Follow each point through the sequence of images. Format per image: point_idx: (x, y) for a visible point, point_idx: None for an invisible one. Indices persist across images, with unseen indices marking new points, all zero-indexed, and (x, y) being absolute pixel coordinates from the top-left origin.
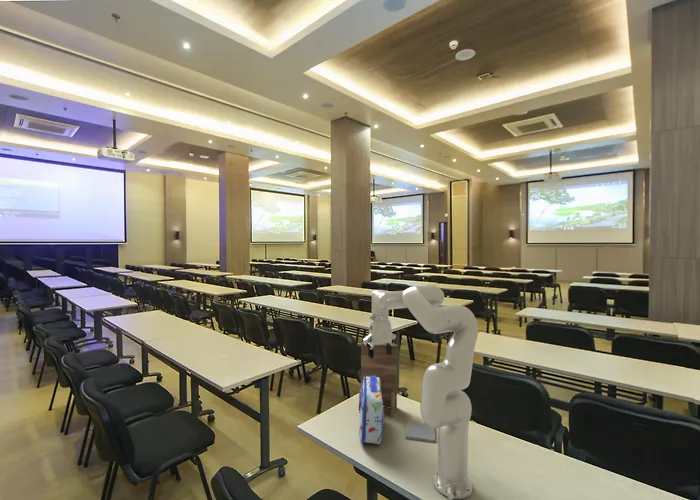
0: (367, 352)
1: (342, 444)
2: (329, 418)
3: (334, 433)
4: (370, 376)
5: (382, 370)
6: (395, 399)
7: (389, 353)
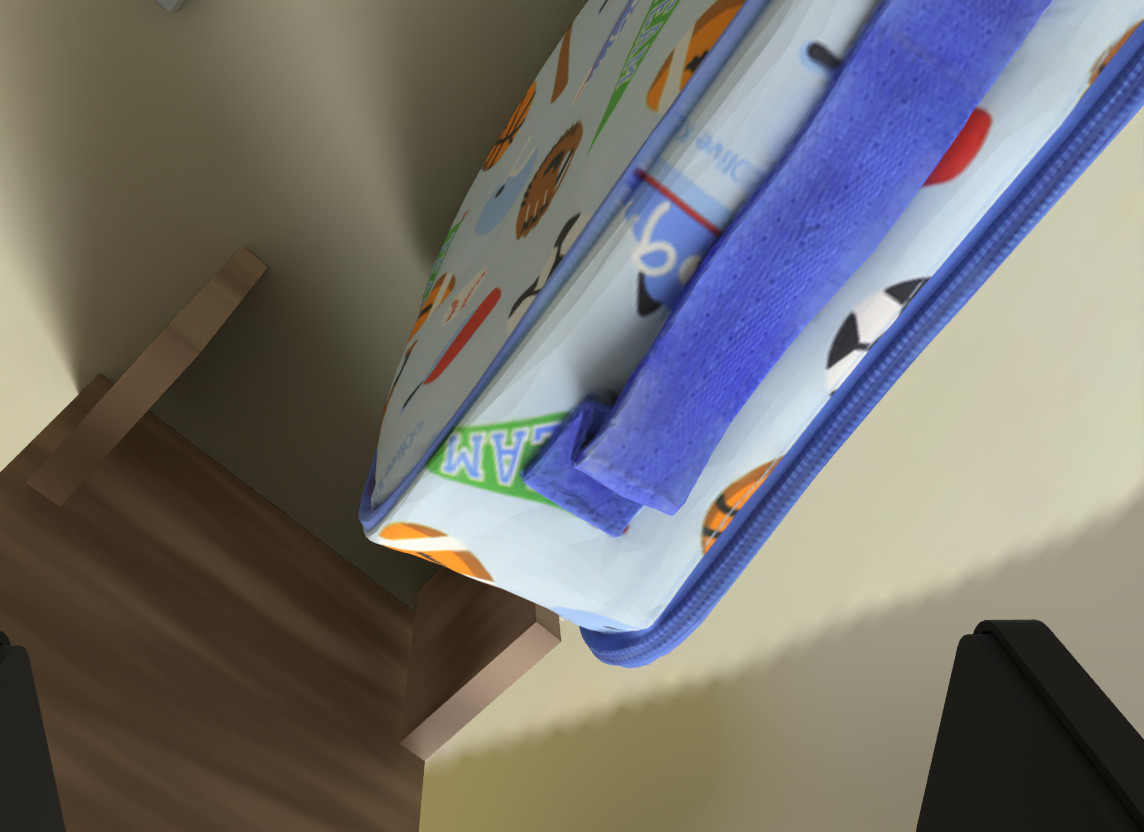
0: None
1: None
2: (874, 542)
3: (1008, 282)
4: (680, 501)
5: (82, 804)
6: (68, 427)
7: (3, 700)
